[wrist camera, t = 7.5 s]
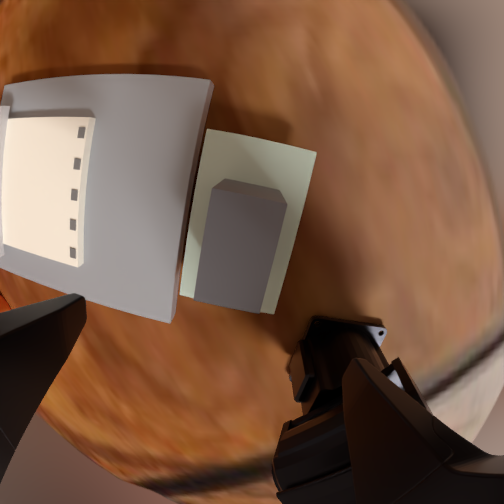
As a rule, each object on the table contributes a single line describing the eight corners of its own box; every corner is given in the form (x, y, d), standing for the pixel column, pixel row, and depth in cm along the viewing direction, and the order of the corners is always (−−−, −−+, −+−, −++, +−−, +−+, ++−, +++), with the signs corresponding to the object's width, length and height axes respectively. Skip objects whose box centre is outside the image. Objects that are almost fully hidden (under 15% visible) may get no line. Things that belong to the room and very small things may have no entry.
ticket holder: (214, 85, 16) (204, 71, 13) (175, 312, 21) (163, 338, 18) (15, 86, 15) (-10, 83, 12) (6, 260, 20) (-16, 273, 17)
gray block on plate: (314, 152, 16) (339, 152, 11) (273, 308, 19) (277, 360, 14) (209, 129, 15) (187, 119, 10) (182, 289, 18) (158, 336, 13)
